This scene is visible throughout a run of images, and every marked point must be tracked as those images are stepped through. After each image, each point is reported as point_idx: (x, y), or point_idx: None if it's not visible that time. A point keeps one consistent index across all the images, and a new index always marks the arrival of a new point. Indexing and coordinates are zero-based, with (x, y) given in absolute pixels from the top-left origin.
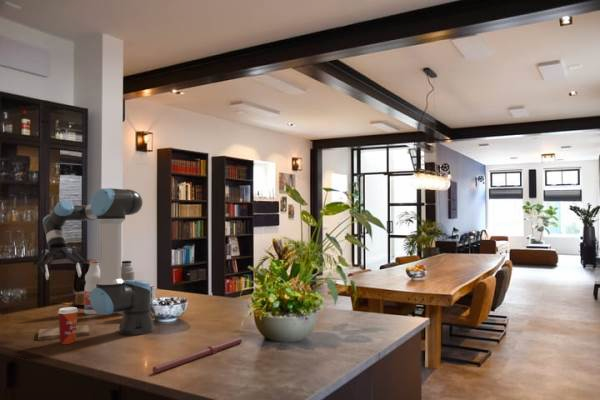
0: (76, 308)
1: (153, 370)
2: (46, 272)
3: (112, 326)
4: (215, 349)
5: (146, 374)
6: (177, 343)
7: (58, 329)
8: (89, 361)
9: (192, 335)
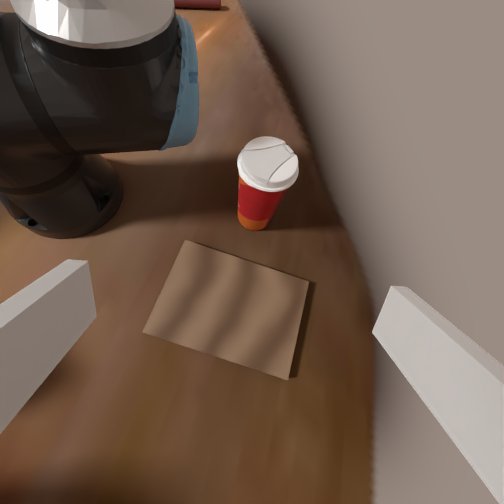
0: (247, 143)
1: (220, 4)
2: (443, 326)
3: None
4: None
5: (228, 13)
6: None
7: (241, 333)
8: (264, 90)
9: None
